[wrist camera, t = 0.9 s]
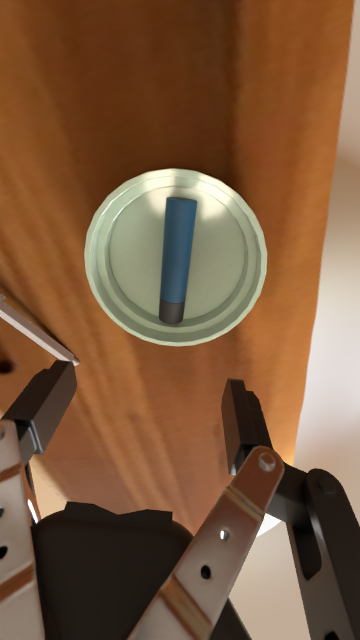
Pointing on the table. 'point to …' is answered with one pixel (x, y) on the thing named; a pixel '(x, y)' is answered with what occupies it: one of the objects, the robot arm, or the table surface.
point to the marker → (176, 257)
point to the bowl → (147, 248)
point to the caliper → (34, 332)
